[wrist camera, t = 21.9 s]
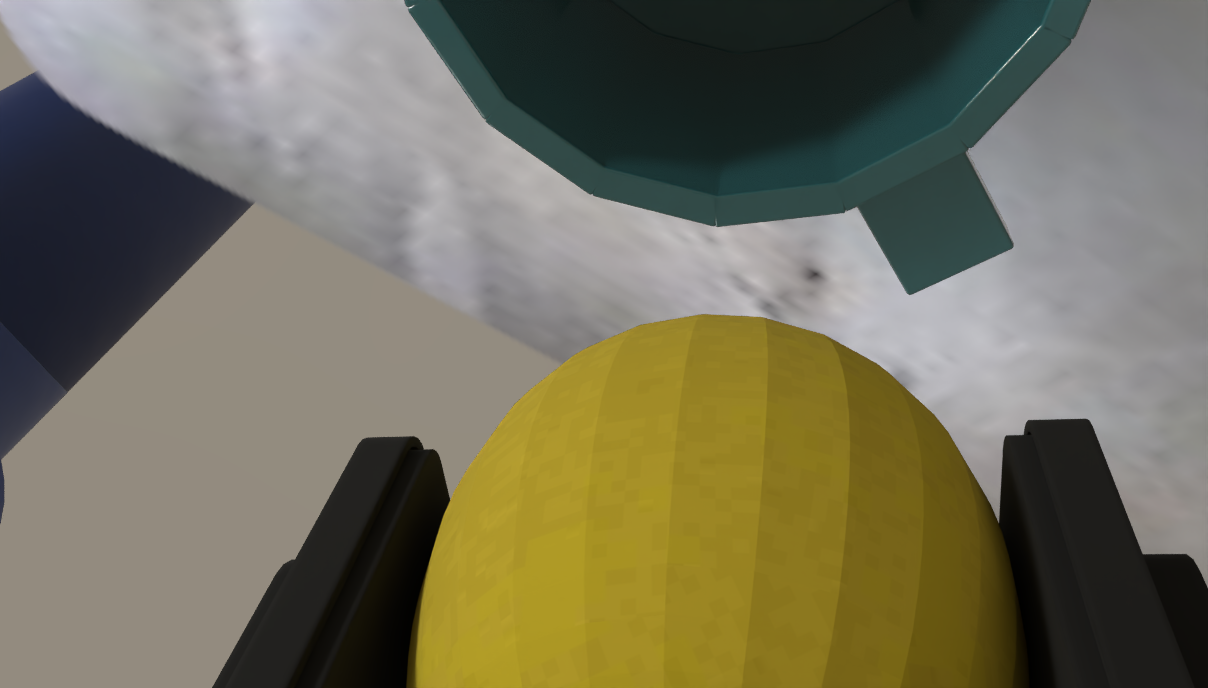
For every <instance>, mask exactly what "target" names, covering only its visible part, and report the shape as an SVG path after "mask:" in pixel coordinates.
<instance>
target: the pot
mask: <svg viewBox="0 0 1208 688" xmlns="http://www.w3.org/2000/svg"><path fill="white" fill-rule="evenodd" d="M404 1H405V4H406V6H407V7H409V8H408V11H409V13H410V14H411V16H412V17H413V18H414V20H415V21H416V23H417V24H418V26H419V27H420V28H421V30H422V31H423V33H424V34H425V36H426V37H427V39H428V40H429V41H430V43H431V44H432V46H433V47H434V49H435V50H436V51H437V53H438V54H439V56H440V57H441V59H442V60H443V61H444V63H445V64H446V66H447V67H448V69H449V70H450V71H451V73H452V74H453V76H454V77H455V79H456V80H457V82H458V83H459V84H460V86H461V87H462V89H463V90H464V92H465V93H466V94H467V96H468V97H469V99H470V100H471V102H472V103H473V104H474V106H475V107H476V109H477V110H478V112H479V113H480V114H481V116H482V117H483V118H484V119H486V122H487V123H488V124H489V125H491V126H492V127H493V128H495V129H496V130H498V131H499V132H501V133H502V134H503V135H505V136H506V137H508V138H509V139H511V140H512V141H514V142H515V143H516V144H518V145H519V146H521V147H522V148H524V149H525V150H527V151H528V152H529V153H531V154H532V155H534V156H535V157H537V158H538V159H540V160H541V161H542V162H544V163H545V164H547V165H548V166H550V167H551V168H552V169H554V170H555V171H557V172H558V173H560V174H561V175H563V176H564V177H565V178H567V179H568V180H570V181H571V182H573V183H574V184H576V185H577V186H578V187H580V188H581V189H583V190H584V191H586V192H587V193H589V194H593V196H596V197H600V198H604V199H608V200H611V201H615V202H619V203H623V204H627V205H631V206H635V207H639V208H643V209H647V210H651V211H655V212H659V213H663V214H667V215H671V216H675V217H679V218H683V219H687V220H691V221H695V222H698V223H702V224H706V225H710V226H715V225H716V227H721V226H730V225H739V224H748V223H757V222H767V221H776V220H785V219H794V218H803V217H812V216H821V215H830V214H839V213H845V211H848V210H851V209H853V208H855V207H857V208H858V209H859V211H860V213H861V215H862V216H863V218H864V220H865V222H866V223H867V225H868V227H869V229H870V230H871V232H872V234H873V235H874V237H875V239H876V241H877V242H878V244H879V246H880V248H881V249H882V251H883V253H884V255H885V256H886V258H887V260H888V261H889V263H890V265H891V267H892V268H893V270H894V272H895V274H896V275H897V277H898V279H899V281H900V282H901V284H902V286H903V287H904V289H905V291H906V293H907V294H909V295H912V294H914V293H916V292H918V291H920V290H923V289H925V288H927V287H929V286H931V285H934V284H936V283H938V282H940V281H942V280H944V279H947V278H949V277H951V276H953V275H955V274H958V273H960V272H962V271H964V270H966V269H968V268H971V267H973V266H975V265H977V264H979V263H982V262H984V261H986V260H988V259H990V258H992V257H995V256H997V255H999V254H1001V253H1003V252H1006V251H1008V250H1010V249H1012V248H1013V246H1014V245H1013V241H1012V238H1011V236H1010V233H1009V230H1008V228H1007V226H1006V224H1005V222H1004V220H1003V218H1002V216H1001V214H1000V212H999V210H998V208H997V206H996V204H995V203H994V201H993V199H992V197H991V195H990V193H989V191H988V189H987V187H986V185H985V183H984V182H983V180H982V178H981V176H980V174H979V172H978V170H977V168H976V166H975V164H974V162H973V160H972V159H971V157H970V155H969V153H968V148H972V147H973V146H974V145H975V144H976V143H977V142H978V141H979V140H980V139H981V138H982V137H983V136H984V135H985V134H986V133H987V132H988V131H989V129H990V128H991V127H992V126H993V125H994V124H995V123H996V122H997V121H998V120H999V119H1000V118H1001V117H1002V116H1003V115H1004V114H1005V113H1006V112H1007V110H1008V109H1009V108H1010V107H1011V106H1012V105H1013V104H1014V103H1015V102H1016V101H1017V100H1018V99H1019V98H1020V97H1021V96H1022V95H1023V94H1024V93H1025V92H1026V90H1027V89H1028V88H1029V87H1030V86H1031V85H1032V84H1033V83H1034V82H1035V81H1036V80H1037V79H1038V78H1039V77H1040V76H1041V75H1042V74H1043V73H1044V72H1045V70H1046V69H1047V68H1048V67H1049V66H1050V65H1051V64H1052V63H1053V62H1054V61H1055V60H1056V59H1057V58H1058V57H1059V56H1060V55H1061V54H1062V53H1063V51H1064V50H1065V49H1066V48H1067V47H1068V46H1069V45H1070V44H1071V39H1074V37H1075V36H1076V34H1077V32H1078V30H1079V27H1080V25H1081V23H1082V20H1083V18H1084V16H1085V13H1086V11H1087V9H1088V6H1089V4H1090V2H1091V0H404Z"/></svg>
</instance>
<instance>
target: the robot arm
mask: <svg viewBox="0 0 1208 688" xmlns="http://www.w3.org/2000/svg"><path fill="white" fill-rule="evenodd" d="M449 502H450V497H449V493H448V489H447V485H446V481H445V476H444V473H443V468H442V464H441V460H440V457H439V455H438V453H437V452H436V451H435V450H433V449H430V450H424V448H423V445H422V443H421V442H420V440H419V439H418V438H416V437H414V436H412V437H411V436H410V437H377V438H376V437H375V438H374V437H373V438H365V439H363V440H362V441H361V442H360V443H359V444H358V446H357V448H356V450H355V452H354V453H353V455H352V457H351V459H350V461H349V462H348V464H347V466H346V468H345V470H344V471H343V473H342V475H341V477H340V479H339V481H338V482H337V484H336V486H335V488H334V490H333V492H332V493H331V495H330V497H329V499H328V501H327V503H326V504H325V506H324V508H323V510H322V511H321V513H320V515H319V517H318V519H317V521H316V523H315V524H314V526H313V528H312V530H311V532H310V533H309V535H308V537H307V539H306V541H305V543H304V544H303V546H302V548H301V550H300V552H299V553H298V555H297V557H296V559H295V560H291V561H289V562H287V563H285V564H283V566H282V567H281V568H280V570H279V571H278V572H277V574H276V575H275V577H274V578H273V580H272V582H271V584H270V586H269V587H268V589H267V591H266V593H265V595H264V596H263V598H262V600H261V602H260V603H259V605H258V607H257V609H256V610H255V612H254V614H253V616H252V618H251V619H250V621H249V623H248V625H247V627H246V628H245V630H244V632H243V634H242V636H241V637H240V639H239V641H238V643H237V644H236V646H235V648H234V650H233V652H232V653H231V655H230V657H229V659H228V660H227V662H226V664H225V666H224V667H223V669H222V671H221V673H220V675H219V677H218V678H217V680H216V682H215V684H214V685H213V687H212V688H406V686H407V668H408V655H409V647H410V639H411V631H412V625H413V620H414V615H415V611H416V606H417V601H418V597H419V593H420V590H421V587H422V583H423V580H424V577H425V574H426V570H427V567H428V564H429V561H430V557H431V554H432V551H433V548H434V544H435V541H436V538H437V535H438V532H439V529H440V525H441V522H442V519H443V516H444V513H445V511H446V509H447V507H448V505H449ZM999 526H1000V528H1001V530H1002V534H1003V537H1004V541H1005V544H1006V548H1007V551H1008V555H1009V558H1010V563H1011V567H1012V572H1013V577H1014V581H1015V586H1016V590H1017V595H1018V599H1019V604H1020V610H1021V616H1022V621H1023V627H1024V632H1025V638H1026V645H1027V653H1028V663H1029V679H1030V686H1029V688H1208V588H1207V585H1206V583H1205V581H1204V579H1203V577H1202V574H1201V572H1200V570H1199V568H1198V567H1197V565H1196V563H1195V562H1194V560H1193V559H1192V558H1191V557H1189V556H1188V555H1187V554H1142V552H1141V549H1140V546H1139V544H1138V541H1137V539H1136V536H1135V534H1134V531H1133V528H1132V526H1131V523H1130V521H1129V518H1128V516H1127V513H1126V511H1125V508H1124V505H1123V503H1122V500H1121V498H1120V495H1119V493H1118V490H1117V488H1116V485H1115V482H1114V480H1113V477H1112V475H1111V472H1110V470H1109V467H1108V464H1107V462H1106V459H1105V457H1104V454H1103V452H1102V449H1101V447H1100V444H1099V441H1098V439H1097V436H1096V434H1095V431H1094V429H1093V426H1092V424H1091V422H1090V421H1089V420H1088V419H1057V420H1028V421H1027V422H1026V425H1025V429H1024V435H1009V436H1006V437H1005V439H1004V445H1003V460H1002V479H1001V497H1000V516H999Z"/></svg>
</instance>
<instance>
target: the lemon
mask: <svg viewBox="0 0 1208 688" xmlns="http://www.w3.org/2000/svg"><path fill="white" fill-rule="evenodd" d="M1029 686H1030V679H1029V663H1028V653H1027V645H1026V638H1025V632H1024V627H1023V621H1022V616H1021V610H1020V604H1019V599H1018V595H1017V590H1016V586H1015V581H1014V577H1013V572H1012V567H1011V563H1010V558H1009V555H1008V551H1007V548H1006V544H1005V541H1004V537H1003V534H1002V530H1001V528H1000V526H999V523H998V521H997V518H996V516H995V514H994V511H993V509H992V507H991V504H990V503H989V501H988V499H987V497H986V496H985V494H984V492H983V490H982V489H981V487H980V485H979V483H978V482H977V480H976V478H975V477H974V475H973V473H972V472H971V470H970V468H969V467H968V465H967V463H966V462H965V460H964V458H963V457H962V455H961V453H960V451H959V450H958V448H957V446H956V445H955V443H954V441H953V440H952V438H951V436H950V435H949V433H948V431H947V430H946V429H945V428H944V426H943V425H942V424H941V423H940V421H939V420H938V419H937V418H936V416H935V415H934V414H933V413H932V412H931V411H929V410H928V409H927V408H926V407H925V406H924V405H923V404H922V403H921V402H920V401H919V400H918V399H916V398H915V397H914V396H913V395H912V394H911V393H910V392H909V391H908V390H907V389H906V388H905V387H903V386H902V385H901V384H900V383H899V382H898V381H897V380H896V379H895V378H894V377H893V376H892V375H891V374H889V373H888V372H887V371H886V370H884V369H883V368H882V367H881V366H879V365H878V364H877V363H875V362H873V361H871V360H869V359H868V358H866V357H864V356H862V355H860V354H858V353H857V352H855V351H853V350H851V349H849V348H847V347H846V346H844V345H842V344H840V343H838V342H836V341H835V340H833V339H831V338H829V337H827V336H826V335H823V334H820V333H816V332H813V331H809V330H806V329H802V328H799V327H795V326H792V325H788V324H784V323H781V322H777V321H774V320H770V319H767V318H763V317H749V316H729V315H709V314H702V315H695V316H689V317H684V318H678V319H672V320H666V321H660V322H654V323H649V324H643V325H639V326H637V327H634V328H632V329H630V330H627V331H625V332H623V333H620V334H618V335H616V336H613V337H611V338H608V339H606V340H604V341H601V342H599V343H597V344H594V345H592V346H590V347H587V348H586V349H584V350H582V351H580V352H579V353H577V354H575V355H574V356H572V357H571V358H570V359H569V360H567V361H566V362H565V363H564V364H562V365H561V366H560V367H558V368H557V369H556V370H555V371H553V372H552V373H551V374H549V375H548V376H547V377H546V378H544V379H543V380H542V381H541V382H539V383H538V384H537V385H535V386H534V387H533V388H532V389H530V390H529V391H528V392H527V393H526V394H525V395H524V396H523V397H522V398H521V399H520V400H519V401H517V402H516V403H515V404H514V406H513V407H512V408H511V410H510V411H509V412H508V413H507V415H506V416H505V417H504V419H503V420H502V421H501V423H500V424H499V426H498V427H497V428H496V430H495V431H494V432H493V434H492V435H491V437H490V438H489V439H488V441H487V442H486V444H485V445H484V446H483V448H482V449H481V451H480V452H479V453H478V455H477V456H476V458H475V459H474V461H473V462H472V463H471V465H470V466H469V468H468V469H467V471H466V472H465V474H464V476H463V478H462V479H461V481H460V483H459V484H458V486H457V488H456V489H455V491H454V493H453V496H452V498H451V500H450V502H449V505H448V507H447V509H446V511H445V513H444V516H443V519H442V522H441V525H440V529H439V532H438V535H437V538H436V541H435V544H434V548H433V551H432V554H431V557H430V561H429V564H428V567H427V570H426V574H425V577H424V580H423V583H422V587H421V590H420V593H419V597H418V601H417V606H416V611H415V615H414V620H413V625H412V631H411V639H410V647H409V655H408V668H407V686H406V688H1029Z"/></svg>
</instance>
